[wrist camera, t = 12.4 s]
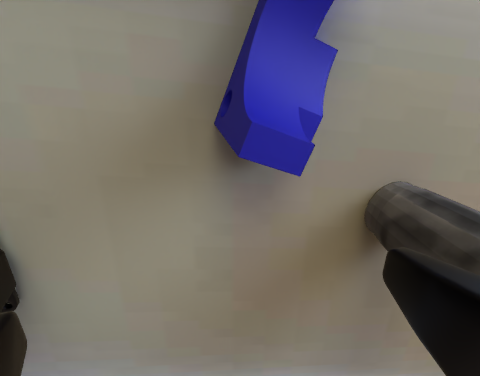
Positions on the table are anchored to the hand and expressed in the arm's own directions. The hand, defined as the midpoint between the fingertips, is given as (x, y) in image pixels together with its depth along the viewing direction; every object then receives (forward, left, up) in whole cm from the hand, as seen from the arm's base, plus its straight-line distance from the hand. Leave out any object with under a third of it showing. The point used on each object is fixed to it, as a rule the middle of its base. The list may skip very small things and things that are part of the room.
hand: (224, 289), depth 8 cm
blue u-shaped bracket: (+6, +6, -12) cm, 15 cm away
